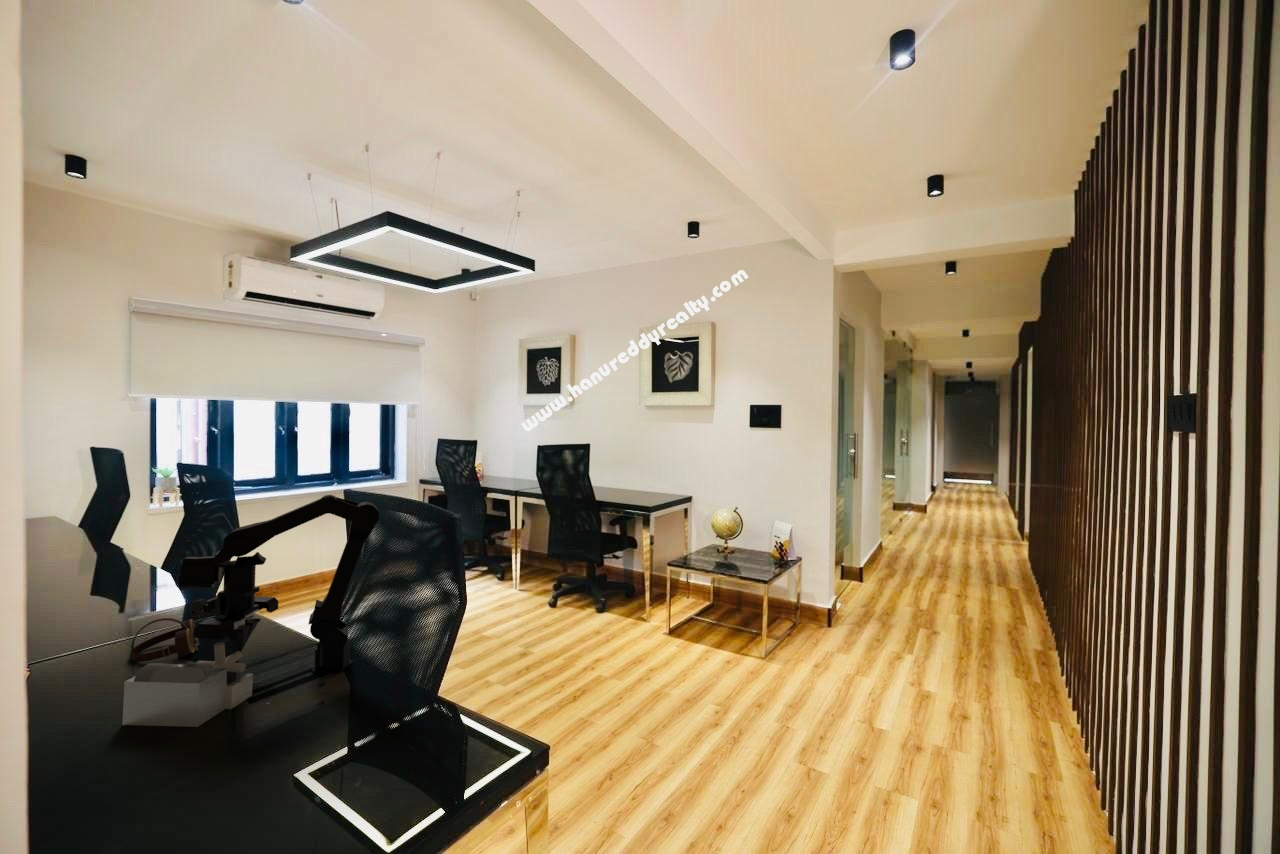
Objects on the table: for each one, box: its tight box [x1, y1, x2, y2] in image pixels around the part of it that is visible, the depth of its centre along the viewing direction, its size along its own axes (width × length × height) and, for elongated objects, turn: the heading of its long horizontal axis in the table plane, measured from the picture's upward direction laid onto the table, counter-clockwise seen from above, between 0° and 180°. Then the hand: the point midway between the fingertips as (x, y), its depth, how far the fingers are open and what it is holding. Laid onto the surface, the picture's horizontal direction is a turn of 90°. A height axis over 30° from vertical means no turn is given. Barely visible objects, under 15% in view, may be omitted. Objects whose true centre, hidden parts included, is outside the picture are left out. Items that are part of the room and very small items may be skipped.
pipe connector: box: [195, 641, 247, 673], centre depth 120 cm, size 10×10×10 cm
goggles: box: [129, 617, 200, 663], centre depth 139 cm, size 15×13×10 cm
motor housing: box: [121, 662, 254, 728], centre depth 111 cm, size 17×13×10 cm
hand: (237, 654), depth 125 cm, fingers closed
